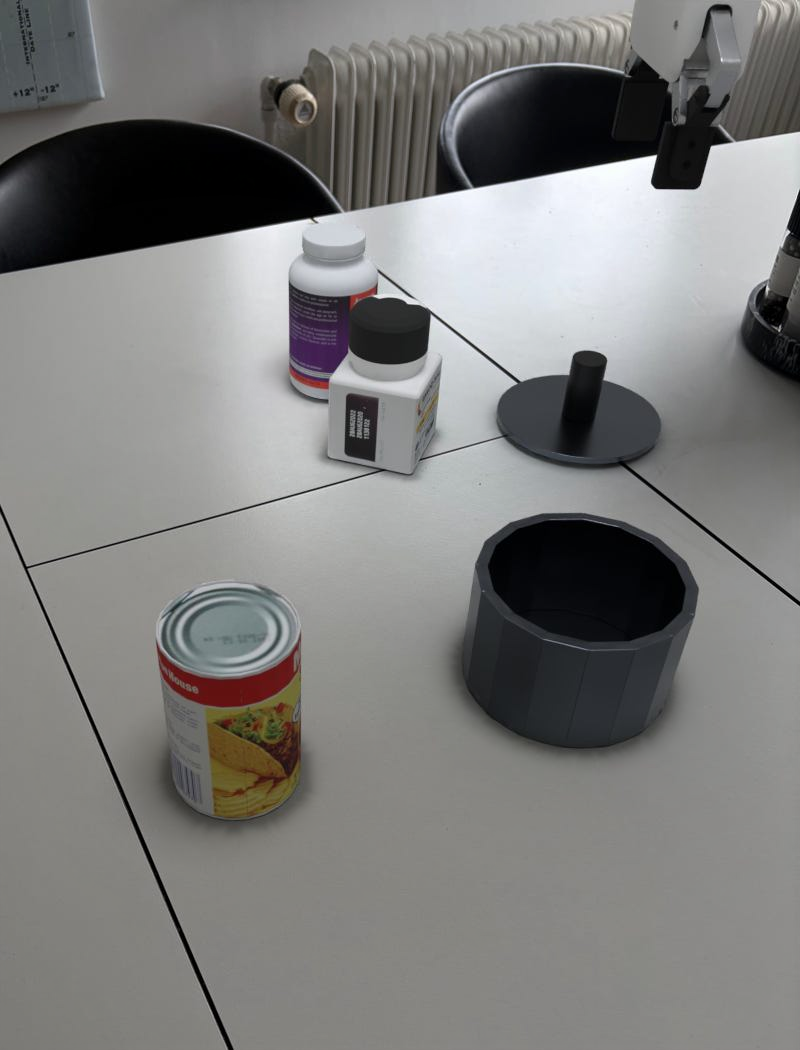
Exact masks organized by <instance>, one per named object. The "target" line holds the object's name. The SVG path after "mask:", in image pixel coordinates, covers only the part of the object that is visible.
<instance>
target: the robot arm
mask: <svg viewBox="0 0 800 1050" xmlns="http://www.w3.org/2000/svg"><path fill="white" fill-rule="evenodd" d="M761 4H762V0H634V4H633V9H632V16H631V21H630V28H629V29H630V30H629V37H628V41H629V43H630V51H629V53H628V55H627V57H626V59H625V60H624V64H623V65H624V66H623V75H624V76H623V77H622V80H621V85H620V91H619V95H618V100H617V104H616V109H615V113H614V120H613V124H612V129H611V137H612V138H613V140H614V141H617V142H653V141H655V140H656V138H657V136H658V133H659V128H660V124H661V120H662V116H663V112H664V107H665V102H666V99H667V94H668V89H669V85H670V84H671V120H670V121H669V120H668V121H664V124H663V128H662V132H661V136H660V141H659V144H658V149H657V154H656V158H655V161H654V164H653V165H654V166H653V170H652V174H651V177H650V185H651V186H652V187H653V188H654V189H655V190H664V191H665V190H666V191H667V190H669V191H670V190H674V191H675V190H677V191H678V190H679V191H681V190H683V191H684V190H685V191H694V190H697V189H699V188H700V186H701V185H702V183H703V178H704V174H705V170H706V167H707V164H708V159H709V156H710V152H711V148H712V145H713V141H714V137H715V133H716V129H717V128H718V126H719V125H720V124H721V122H722V118H723V110H724V109H725V107H726V106H727V104H728V103H729V101H730V100H731V95H730V93H731V90H732V88H733V86H734V84H735V83H737V82H738V81H739V80H740V79H741V77H742V76H743V74H744V72H745V69H746V67H747V66H746V65H747V62H748V57H749V53H750V50H751V46H752V42H753V37H754V34H755V30H756V25H757V21H758V16H759V13H760V8H761ZM689 88H696V89H695V91H694V92H693V93H692V95H691V96H690V98H689V97H688V94H689V93H688V89H689Z"/></svg>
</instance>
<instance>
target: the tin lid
mask: <svg viewBox="0 0 800 1050" xmlns="http://www.w3.org/2000/svg"><path fill="white" fill-rule="evenodd" d="M607 364H608V358H607V356H606V355H605V354H603V353H601V352H598V351H596V350H591V349H589V350H588V349H587V350H586V349H584V350H579V351H578V350H577V351H576V352H575V353H573V355H572V357H571V363H570V367H569V372H568V373H569V374H550V375H541V376H536V377H532V378H528V379H524V380H522V381H520V382H517V383H515V384H513V385H512V386H510V387H509V388H507V389H506V390H505V392H503V394H501V396H500V398H499V399H498V403H497V406H496V419H497V422H498V424H499V426H500V428H501V429H502V430H503V432H504V433H505V434H506V435H507V436H508V438H510V439H511V440H513V441H514V442H515V443H517V444H518V445H520V446H522V447H524V448H525V449H527V450H529V451H531V452H533V453H536V454H538V455H540V456H543V457H547V458H551V459H554V460H558V461H563V462H568V463H573V464H575V463H576V464H584V465H585V464H587V465H601V464H602V465H604V464H614V463H619V462H625V461H627V460H628V461H629V460H631V459H634V458H636V457H639V456H641V455H644V454H645V453H646V452H648V451H649V450H650V449H651V448H653V447H654V446H655V444H656V443H657V441H658V440H659V438H660V435H661V431H662V420H661V418H660V415H659V413H658V411H657V410H656V408H655V406H653V405H652V404H651V403H650V402H649V401H648V400H647V399H645V397H643V396H641V394H639V393H637V392H636V391H633V390H631V389H630V388H627V387H626V386H623V385H621V384H618V383H616V382H615V383H614V382H613V381H608V380H605V375H606V371H607V370H606V369H607Z"/></svg>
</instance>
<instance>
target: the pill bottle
mask: <svg viewBox="0 0 800 1050" xmlns="http://www.w3.org/2000/svg"><path fill="white" fill-rule="evenodd" d="M301 235H302V236H301V240H302V241H301V248H302V253H300V254H299V255H298V256H296V257H295V258H294V259H293V260H292V262H291V264H290V266H289V269H288V371H289V379H290V382H291V383H292V385H293V386H294V388H296V390H298V391H299V392H300V393H302V394H304V395H306V396H308V397H311V398H315V399H318V400H319V399H320V400H328V401H329V379H330V377H331V376H332V375H333V373H334V372H335V371H336V369H337V368H338V366H339V365H340V364H341V362H342V361H343V360H344V358H345V357H346V356H347V354H348V346H349V317H350V310H351V308H352V307H353V306H354V305H355V304H356V303H357V302H358V301H360V300H361V299H364V298H366V297H370V296H374V295H378V290H379V269H378V267H377V265H376V263H375V261H374V260H373V259H372V258H371V257H370V256H368V255H367V254H365V253H366V239H367V238H366V237H367V236H366V235H367V234H366V232H365V230H364V229H363V228H362V227H359V226H358V225H355V224H352V223H347V222H342V221H341V222H340V221H325V222H323V221H322V222H317V223H314V224H310V225H309V226H307V227H306V228H304V230H302V234H301Z"/></svg>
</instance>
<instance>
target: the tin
mask: <svg viewBox="0 0 800 1050" xmlns="http://www.w3.org/2000/svg"><path fill="white" fill-rule="evenodd" d="M470 589H471V590H470V597H469V602H468V612H467V616H466V617H467V618H466V625H465V632H464V638H463V645H462V651H461V658H462V672H463V676H464V680H465V684H466V685H467V688H468V689H469V691H470V694H471V695H472V696H473V698H474V699H475V701H476V702H477V703H478V704H479V706H480V707H481V708H482V710H484V712H486V713H487V714H488V715H490V717H492V718H493V720H496V721H497V722H498V723H500V724H501V725H503V726H504V727H506V728H508V729H510V730H511V731H512V732H515V733H516V734H519V735H522V736H524V737H526V738H529V739H531V740H535V741H537V742H539V743H540V742H541V743H545V744H548V745H553V746H559V747H567V748H580V749H581V748H584V749H585V748H600V747H605V746H610V745H614V744H617V743H621V742H625V741H626V740H628V739H631V738H633V737H635V736H636V735H638V734H640V733H641V732H643V731H644V730H646V729H647V728H648V727H649V726H650V725H651V724H652V723H653V722H654V721H655V720H656V718H657V717H658V715H659V713H660V712H661V710H662V709H663V708H665V707H664V706H665V704H666V701H667V698H668V696H669V693H670V690H671V688H672V684H673V681H674V679H675V675H676V672H677V670H678V667H679V663H680V660H681V659H682V655H683V653H684V650H685V649H684V648H685V646H686V643H687V639H688V638H689V634H690V631H691V628H692V625H693V622H694V619H695V616H696V612H697V605H698V600H699V594H700V593H699V592H700V587H699V585H698V583H697V581H696V579H695V576H694V574H693V572H692V571H691V569H690V567H689V564H688V562H687V561H686V560H685V559H684V558H683V557H682V556H680V554H678V553H677V552H676V551H675V550H674V549H673V548H671V547H670V546H669V545H668V544H667V543H665V541H663V540H662V539H661V538H660V537H658V536H656V535H653V534H651V533H649V532H647V531H645V530H643V529H641V528H638V527H636V526H634V525H632V524H630V523H628V522H626V521H623V520H618V519H614V518H610V517H605V516H601V515H595V514H591V513H586V512H542V513H539V514H535V515H531V516H528V517H525V518H520V519H516V520H513V521H509V523H507V524H505V525H504V526H503V527H502V528H500V529H499V530H498V531H496V532H495V533H493V534H492V535H491V536H489V537H488V538H487V539H485V541H484V542H483V544H482V547H481V549H480V552H479V554H478V556H477V559H476V561H475V563H474V569H473V577H472V582H471V588H470Z"/></svg>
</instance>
